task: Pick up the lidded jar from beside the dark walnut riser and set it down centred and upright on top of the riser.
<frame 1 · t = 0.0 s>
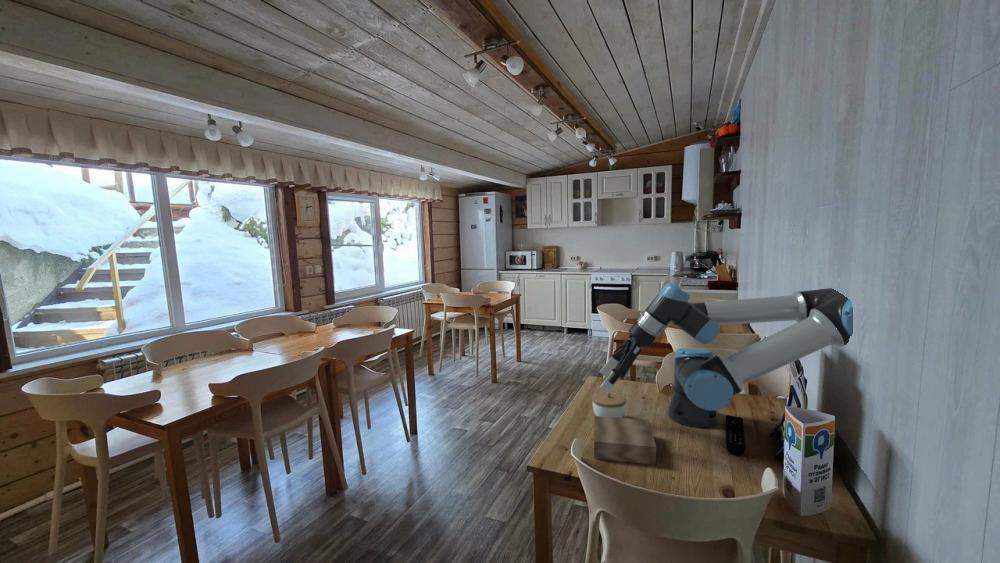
hand: (603, 382, 127), 15 cm above the table, tool tilted 35°, fingers open, 13 cm apart
lidded jar: (608, 420, 135), on the table
walnut riser: (622, 446, 118), on the table
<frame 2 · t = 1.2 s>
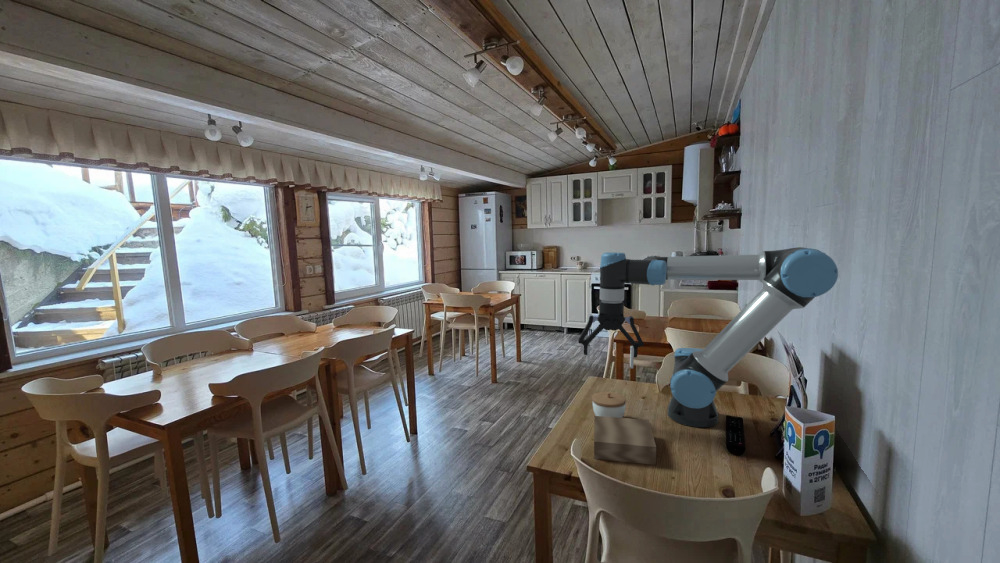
hand: (609, 365, 132), 19 cm above the table, tool pointing down, fingers open, 13 cm apart
nothing on the table moved.
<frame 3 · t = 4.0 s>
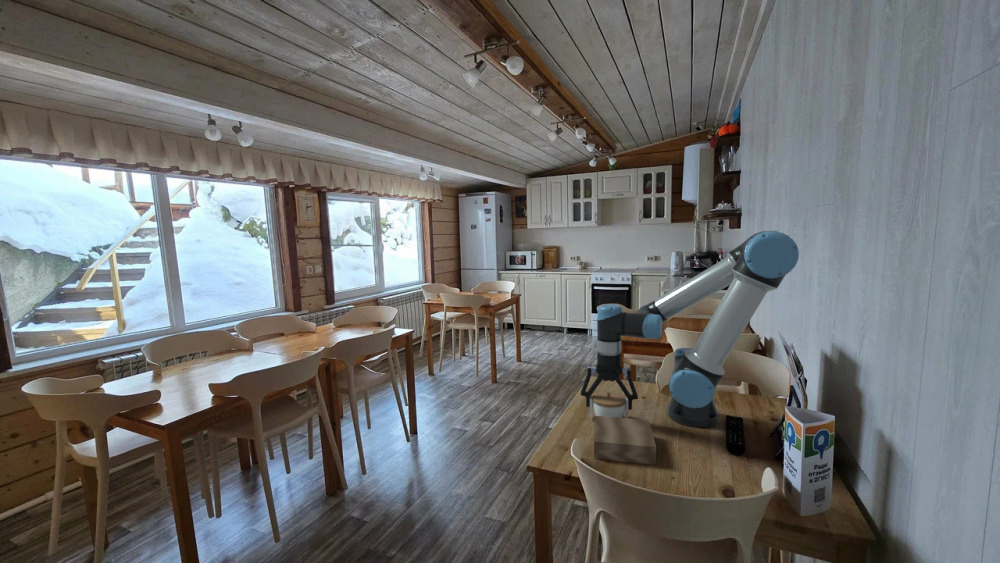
hand: (608, 417, 134), 1 cm above the table, tool pointing down, fingers closed on lidded jar, 11 cm apart
lidded jar: (608, 420, 134), on the table, touching gripper
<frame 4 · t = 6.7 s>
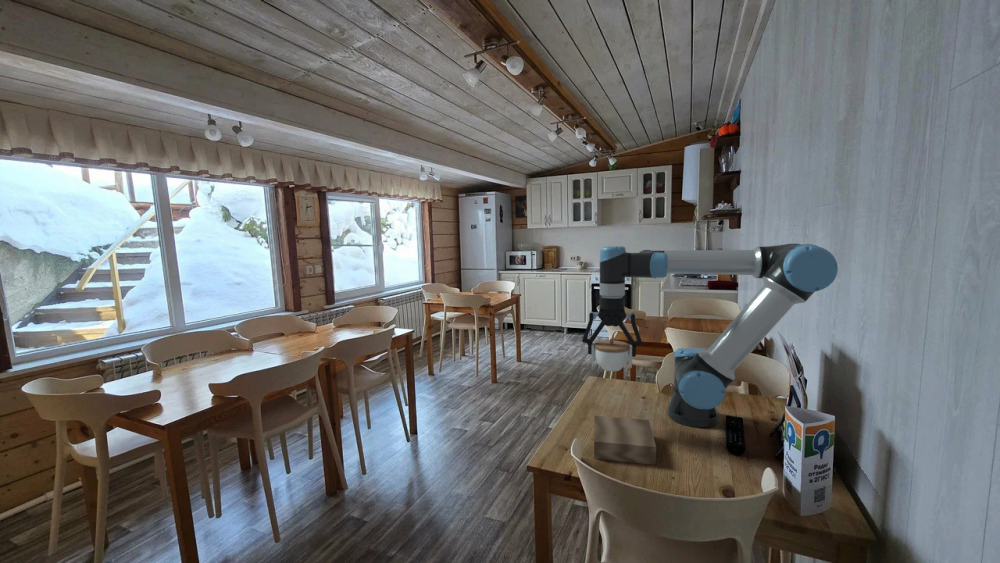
hand: (611, 365, 128), 20 cm above the table, tool pointing down, fingers closed on lidded jar, 11 cm apart
lidded jar: (611, 368, 129), point 19 cm above the table, touching gripper
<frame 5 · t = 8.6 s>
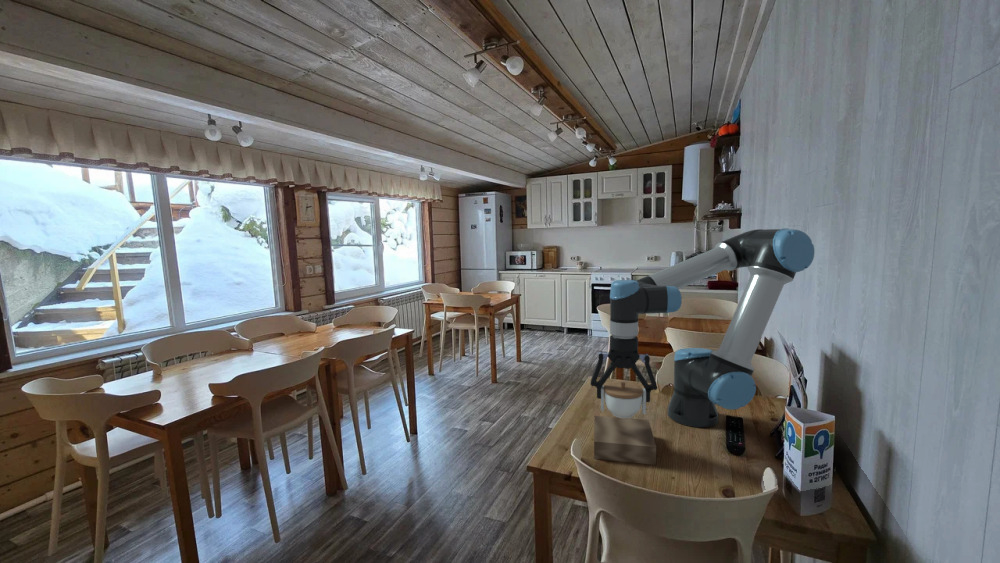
hand: (622, 410, 116), 11 cm above the table, tool pointing down, fingers closed on lidded jar, 11 cm apart
lidded jar: (622, 414, 117), point 10 cm above the table, touching gripper
when the fingers open (7 cm above the table, at t = 9.8 s): lidded jar drops 1 cm, resting on walnut riser.
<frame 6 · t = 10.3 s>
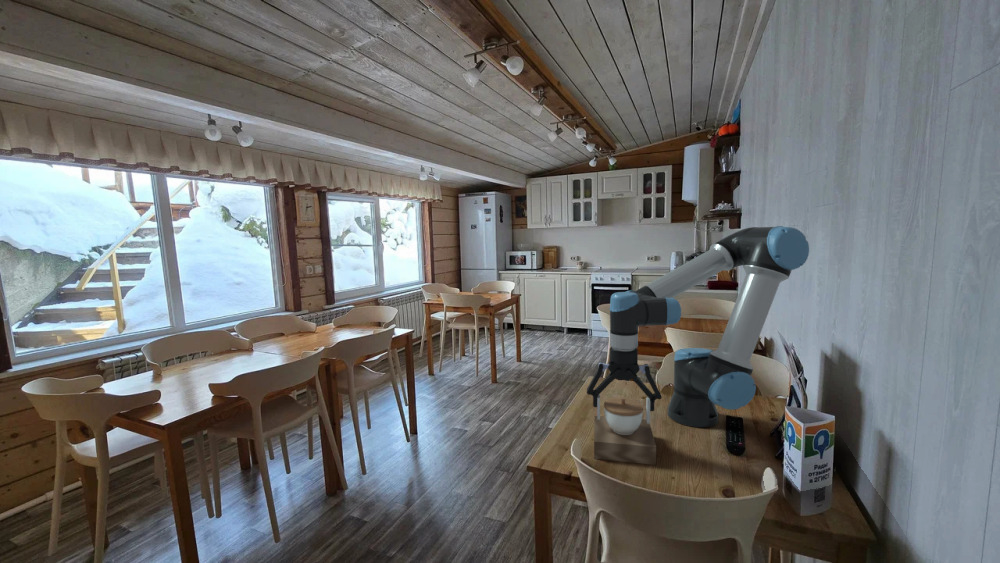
hand: (622, 419, 117), 8 cm above the table, tool pointing down, fingers open, 13 cm apart
lidded jar: (623, 430, 117), point 5 cm above the table, touching walnut riser
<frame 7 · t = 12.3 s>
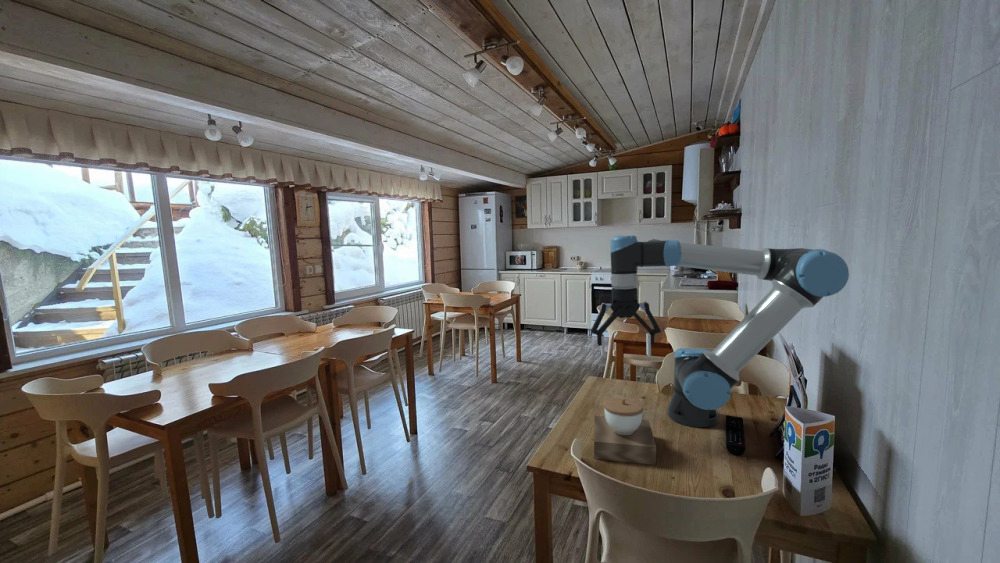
hand: (625, 355, 125), 24 cm above the table, tool pointing down, fingers open, 13 cm apart
nothing on the table moved.
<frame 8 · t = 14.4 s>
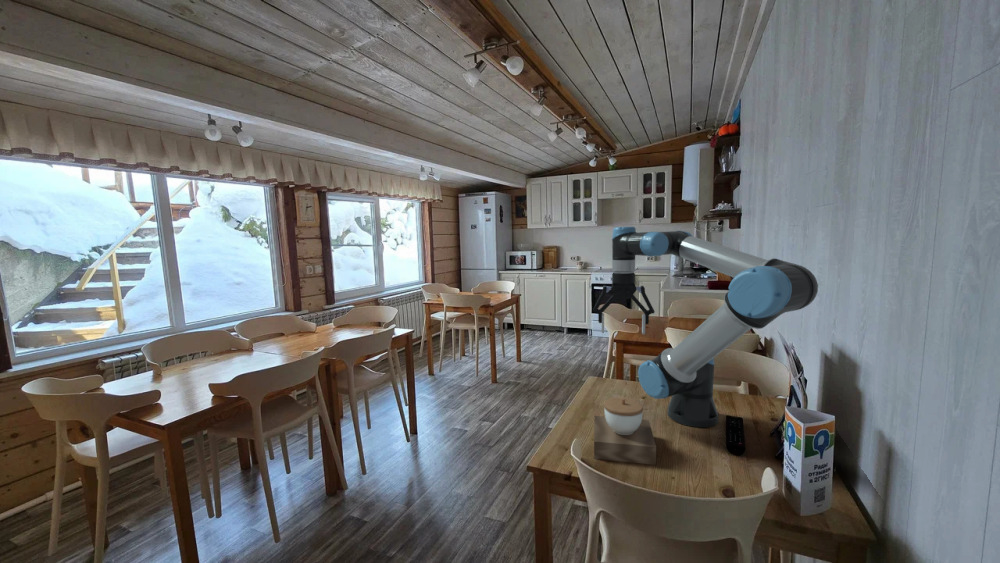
hand: (622, 332, 142), 27 cm above the table, tool pointing down, fingers open, 13 cm apart
nothing on the table moved.
at the end: lidded jar inside the target area on the walnut riser (0.1 cm from its centre), point 4.8 cm above the walnut riser's base; lidded jar tilted 0°; the gripper is holding nothing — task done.
